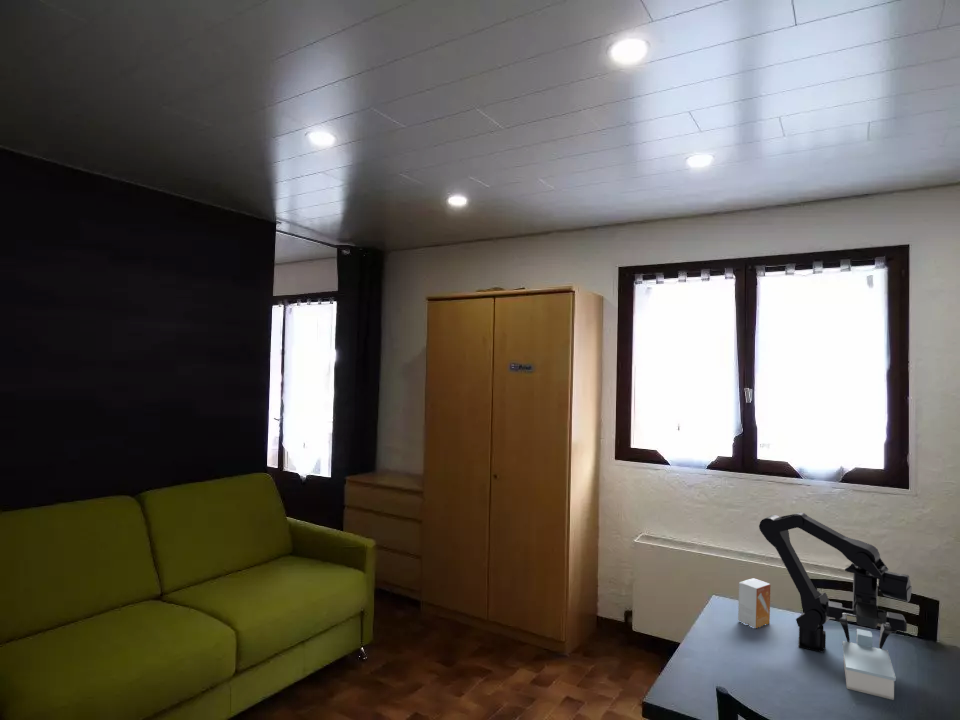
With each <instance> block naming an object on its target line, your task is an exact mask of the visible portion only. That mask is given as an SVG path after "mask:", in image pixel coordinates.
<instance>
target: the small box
mask: <svg viewBox="0 0 960 720" xmlns="http://www.w3.org/2000/svg"><path fill="white" fill-rule="evenodd" d="M771 586H772V585H771V583H769V582H766V581H763V580H760V579H757V578H754V577H752V578H749V579H745V580H743V581H739V582H738V606H737V607H738V608H737V609H738V612H737V613H738V614H737V621H738V620H739V621H741V622H743V623H745V624H748V625H750V626H752V627H754V628H757V629H759V628H762V627H764V626H763V625H765V624H767V625H769V624H771V623H770V622H771V621H770V620H771V618H770V617H771V616H770V615H771V614H770V613H771ZM761 626H762V627H761ZM765 626H766V625H765ZM758 627H759V628H758ZM754 628H753V629H754Z"/></svg>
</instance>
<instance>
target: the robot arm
mask: <svg viewBox="0 0 960 720" xmlns="http://www.w3.org/2000/svg"><path fill="white" fill-rule="evenodd" d="M758 528H759V531H760V533H761V534H762V535H763V537H764V538H765V540H766V541H767V542H768V543H769V544H771V546H773V547H774V549H776V551H777V554H778V555H779V557H780V559H781V561H782V563H783V564H784V567H785V569H786V571H787V572H788V574H789V576H790V577H791V578H790V579H792V581H793V584H794V585H795V587H796V589H797V591H798V593H799V597H800V604H801V608H802V610H803V613H801V614H800V615H799V616H798V617H797V618H796V619H795V622H796V624H797V627H798V640H797V641H798V643H797V644H798V647H799V648H802V649H807V650H811V651H815V652H820V653H824V652H825V651H824V650H825V649H826V644H827V641H826V639H827V637H826V636H827V634H826V631H825V630H824V625H825V624H826V623H827V622H828V621H829V620H830V619H831V618H832V619H834V620H835V621H836V622H839V624H840V625H841V627H842V629H843V631H844V636H845V638H846V642H850V641H851V640H850V632H849V623H848V618H847V616H848V617H853V618H855V621H856V624H857V625H858V626H861V627H863V626H865V627H870V628H871V629H877V628H878V625H880V631H879V639H878V648H879V649H883V647H884V645H885V643H886V640H887V639H888V637H889V636H890V634H892V633H897V631H899V632H904V633H906V632H907V627H908V625H907V620H906V619H905V618H906V617H905V616H904V615H903V614H901V613H896V612H891V611H886V610H885V609H881V608H879V607H878V591H879V592H880V594H882V596H884V597H886V598H887V597H888V598H891V599H895V600H899V601H904V602H906V603H909V602H910V600H911V596H912V585H911V581H910V576H909V574H903V573H897V572H892V571H889V568H888V566H887V564H885V562H884V561H883V559H882V558H881V554H880V552H879V550H878V548H876V546H874V545H872V544H870V543H868V542H864V541H862V540H859V539H855V538H850V537H848V536H845V535H844V534H842V533H841V532H838V531H836V530H834V529H833V528H831V527H829V526H827V525H825V524H823V523H822V522H819V521H818V520H816V519H814V518H812V517H810V516H808V515H807V514H806V513H805V512H802V511H801V512H797V513H793V514H787V515H783V516H779V515H777V514H773V515H772V514H771V515H769V516H767V517H765V518H762V519H761V520H760V522H759V525H758ZM793 529H800V530H802V531H803V532H805V533H807V534H809V535H811V536H812V537H815V538H816V539H818V540H819V541H822V542H824V543H825V544H827V545H829V546H830V547H832V548H834V549H836V550H838V551H839V552H840V553H841V554H842V555H843V556H844V557H845V558H846V559H847V560H848V561H850V562H851V564H850V565H849V566H847V567H846V568H845V569H844V572H847V573H852V574H853V576H852V577H853V578H852V580H853V582H852V586H853V587H852V608H846V607H843V604H842V603H841V602H836V601H832V600H831V601H830V600H829V597H828V595H827V593H826V592H822V593H821V592H820V591H818V589H816V587H815V585H814V584H813V582H812V580H811V578H810V576H809V575H808V573H807V571H806V569H805V567H804V566H803V564H802V561H801V560H800V558H799V556H798V554H797V551H796V550H795V549H794V547H793V546H792V543H791V538H790V532H789V530H793Z"/></svg>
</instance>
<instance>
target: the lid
mask: <svg viewBox="0 0 960 720" xmlns="http://www.w3.org/2000/svg"><path fill="white" fill-rule="evenodd" d="M873 638H874V637H873V634H872V631H869V630H865V629H861V628H860V629H859V628H856V639H855V641H856V642H855V643H854V642H847V640H842V650H843V660H844V659H845V667H846V670H850V671H854V672H859V673H863V674H867V675H872V676H876V677H881V678H885V679H889V680H894V682H896V681H897V677H896V674H895V670H894V667H893V664H892V661H891V657H890V653H889V650H888V649H883V648H882V649H879V647H874V646H873Z"/></svg>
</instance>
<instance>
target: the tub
mask: <svg viewBox="0 0 960 720" xmlns="http://www.w3.org/2000/svg"><path fill="white" fill-rule="evenodd" d="M843 668H844V669H843V670H844V677H845V685H846V690H850V691H856V692H859V693H863V694H866V695H867V694H868V695H870V696H876V697H878V698H879V697H880V698H884V699H887V700H891V701H894V700H895V681H894V680H889V679H885V678H881V677H876V676H872V675H867V674H863V673H859V672H854V671H850V670H846V667H845V659H844V658H843Z"/></svg>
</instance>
